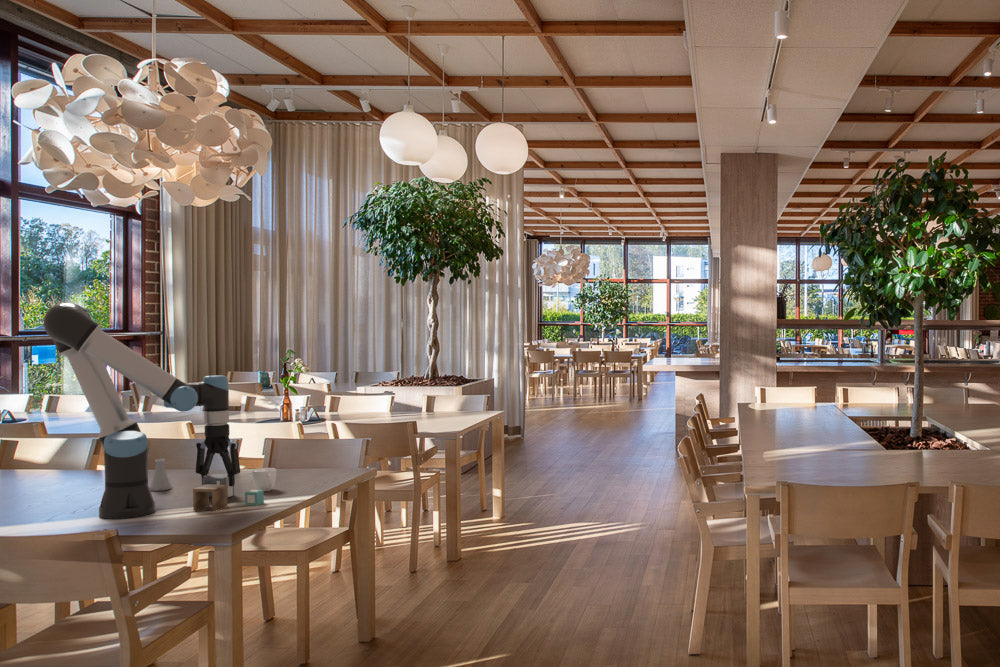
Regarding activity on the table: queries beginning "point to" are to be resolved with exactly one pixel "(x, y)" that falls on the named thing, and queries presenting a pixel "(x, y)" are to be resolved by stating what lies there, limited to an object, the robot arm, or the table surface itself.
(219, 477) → the box
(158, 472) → the flask
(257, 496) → the letter cube
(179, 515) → the table surface
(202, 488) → the cover walnut
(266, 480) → the cup
